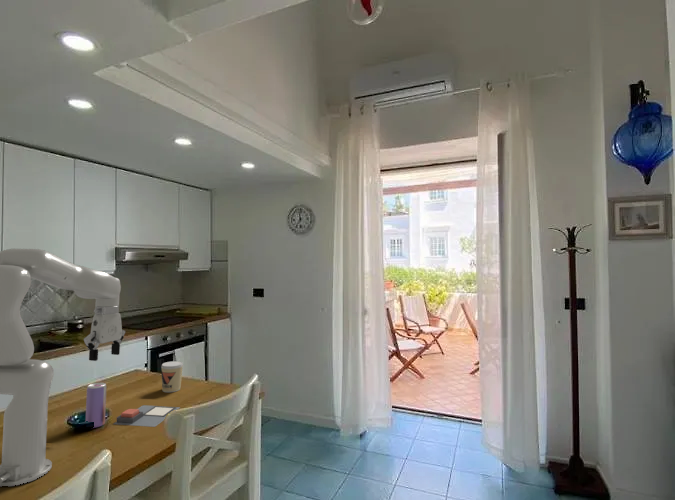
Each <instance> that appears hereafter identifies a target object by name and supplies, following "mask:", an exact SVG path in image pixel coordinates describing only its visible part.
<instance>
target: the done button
mask: <svg viewBox="0 0 675 500" xmlns="http://www.w3.org/2000/svg"><path fill="white" fill-rule="evenodd" d="M137 414H139V409H138V408H128V409H126V410H124V411H123V412H121V413H120V415H121V417H129V418H133V417H134V416H136V415H137Z"/></svg>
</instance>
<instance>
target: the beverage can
mask: <svg viewBox="0 0 675 500" xmlns="http://www.w3.org/2000/svg"><path fill="white" fill-rule="evenodd" d="M106 405H107V383H106V382H94V383H91V384H88V385H87V388H86V404H85V422H86V421H88V422H94V427H93V428H92V429H95V428H99V427H101V426H103V425H105V424H106V411H107V410H106V409H107V408H106V407H107V406H106Z"/></svg>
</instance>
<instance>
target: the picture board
mask: <svg viewBox="0 0 675 500" xmlns="http://www.w3.org/2000/svg"><path fill="white" fill-rule="evenodd" d="M137 409H139V414H137V415H136V416H134V417H133V418H129V417H121V414H120V415H118V416H117V417H116V421H115V422H113V425H120V426H122V425H123V426H135V427H137V426H138V427H151V428H152V427H153V428H156V427H157V426H158V425H159V424H161V423H162V422H164V421H165V420H166V419H165V417H166V415H167V414H168V413H170V412H171V411H173V410H177V409H178V410H179V409H181V407H180V406H178V407H177V406H164V405H163V406H162V405H161V406H159V405H141V406H140V407H138V408H137ZM178 410H177V411H178ZM164 419H165V420H164Z"/></svg>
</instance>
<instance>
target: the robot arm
mask: <svg viewBox="0 0 675 500" xmlns="http://www.w3.org/2000/svg"><path fill="white" fill-rule="evenodd" d="M32 280H35V281H38V282H41V283H44V284H47V285H49V286H52V287H54V288H56V289H60V290H66V291H67V290H68V291H73V292H74V295H76V296H77V297H78V298H80V299H84V300H85V299H87V300H88V299H91V300H94V299H95V305H94V306H95V308H94V309H93V313H94V315H93V317H92V323H91V327H90V333H89V334H88V335H87V336H86V337H84V338H83V341H84V345H85V346H86V347H87V349H88V350H89V351H88V353H89V355H88V360H89V361H90V362H91V361H92V362H97V361H98V359H99V349H98V347H99V346H100V344H107V343H111V342H112V343H111V351H110V354H111V355H117V356H119V355H120V352H121V351H120V350H121V344H122V341H123V339H124V336H125V334H126V330H124V329H122V328H123V327H122V326H123V325H122V317H121V316H122V315H121V313H120V293H121V289H122V285H121V281H120V279H119V278H118V277H114V276H113V275H112V274H109V273H107V272H104V271H101V270H97V269H93V268H89V267H86V266H83V265H78V264H76V263H73V262H70V261H68V260H66V259H65V258H61V256H58V255H55V254H54V253H52V252H49V251H47V250H45V249H44V250H43V249H39V248H8V249H4V250H1V251H0V395H5V396H7V395H8V396H13V397H12V399H11V401H10V402H9V403H8V405H7V407H5V408H6V409H5V410H4V413H3V429H2V430H3V431H2V445H1V447H2V450H1V464H0V487H2V486H8V487H15V485H16V486H20V484H21V485H24V484H27V482H28V483H30V482H33V481H35V480H38V479H40V478H42V477H43V476H44V474H45V475H46V474H47V473H48V471H50V470H51V469H52V467H53V466H52V465H53V462H52V461H51V460H50V459H48V458H46V452H47V451H46V450H47V431H48V409H49V404H48V403H49V396H50V390H51V386H52V383H53V380H54V375H55V373H54V368H53V366H52V365H51V364H50V363H49V362H48V361H45V360H41V359H32V357H33V356H34V352H35V346H34V341H33V339H32V337H31V334H30V333H29V331H28V329H27V326H26V324H25V322H24V321H23V319H22V318H23V317H22V316H21V312H20V311H21V306H22V303H23V300H24V299H25V297H26V294H27V293H28V291H29V289H30V287H31V284H32ZM41 476H42V477H41ZM39 477H40V478H39ZM37 478H38V479H37ZM23 483H24V484H23Z"/></svg>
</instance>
